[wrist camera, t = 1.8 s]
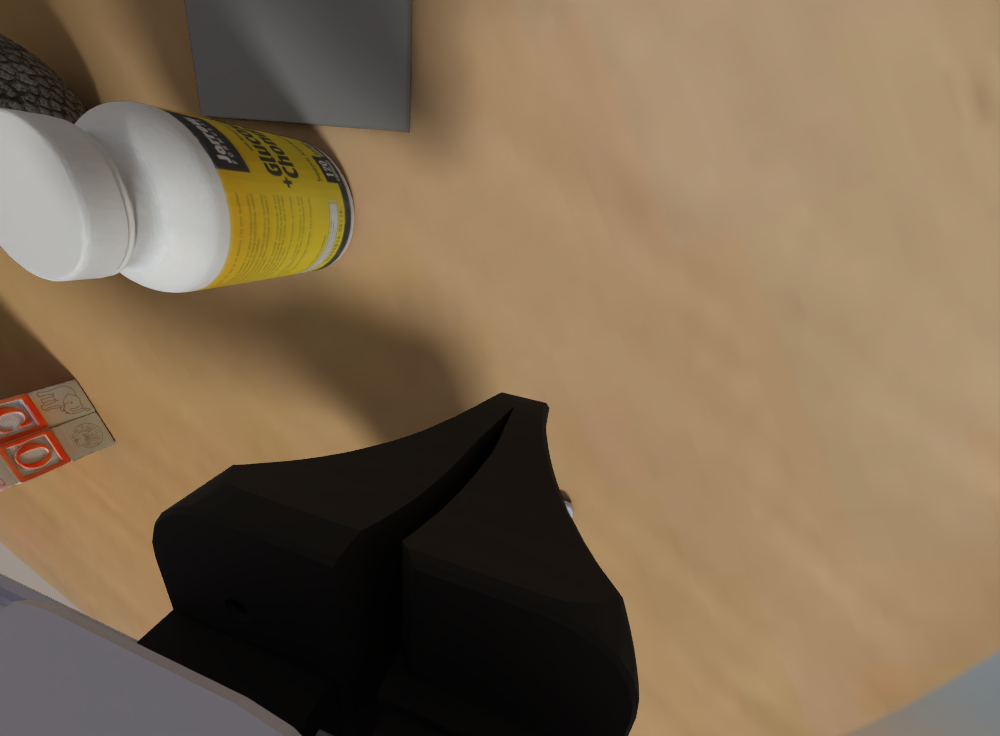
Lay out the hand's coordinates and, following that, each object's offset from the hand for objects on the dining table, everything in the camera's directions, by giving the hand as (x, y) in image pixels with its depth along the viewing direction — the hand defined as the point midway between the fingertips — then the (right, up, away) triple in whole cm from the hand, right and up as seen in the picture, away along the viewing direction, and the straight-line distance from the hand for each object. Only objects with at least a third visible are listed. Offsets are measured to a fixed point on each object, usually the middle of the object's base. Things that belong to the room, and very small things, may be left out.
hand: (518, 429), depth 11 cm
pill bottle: (-11, +10, +11) cm, 19 cm away
